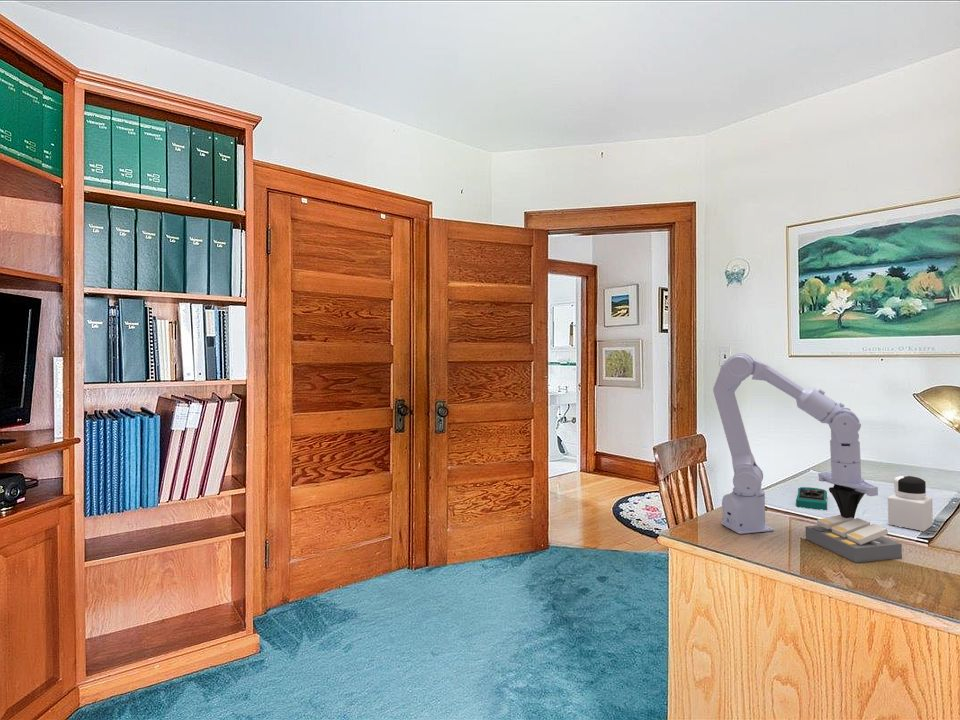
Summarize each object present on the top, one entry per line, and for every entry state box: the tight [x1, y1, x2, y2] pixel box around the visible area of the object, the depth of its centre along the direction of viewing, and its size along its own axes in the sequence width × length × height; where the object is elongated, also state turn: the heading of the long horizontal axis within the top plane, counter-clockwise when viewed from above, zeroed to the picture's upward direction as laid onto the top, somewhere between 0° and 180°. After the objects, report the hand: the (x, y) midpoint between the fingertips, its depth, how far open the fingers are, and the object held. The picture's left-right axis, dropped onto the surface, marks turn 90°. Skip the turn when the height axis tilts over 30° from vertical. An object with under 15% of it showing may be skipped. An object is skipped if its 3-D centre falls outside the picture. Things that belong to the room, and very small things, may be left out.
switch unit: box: [805, 524, 903, 564], centre depth 118 cm, size 11×14×4 cm
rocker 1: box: [816, 514, 856, 529], centre depth 122 cm, size 7×3×1 cm, turn 98°
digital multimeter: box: [795, 486, 828, 511], centre depth 152 cm, size 7×15×3 cm, turn 146°
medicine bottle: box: [887, 475, 934, 533], centre depth 130 cm, size 7×7×12 cm
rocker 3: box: [847, 523, 889, 545], centre depth 114 cm, size 7×3×1 cm, turn 98°
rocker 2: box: [831, 517, 871, 538], centre depth 118 cm, size 7×3×1 cm, turn 98°
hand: (848, 518), depth 122 cm, fingers closed, pressing on rocker 1
